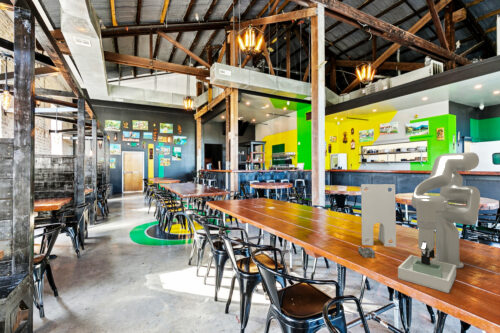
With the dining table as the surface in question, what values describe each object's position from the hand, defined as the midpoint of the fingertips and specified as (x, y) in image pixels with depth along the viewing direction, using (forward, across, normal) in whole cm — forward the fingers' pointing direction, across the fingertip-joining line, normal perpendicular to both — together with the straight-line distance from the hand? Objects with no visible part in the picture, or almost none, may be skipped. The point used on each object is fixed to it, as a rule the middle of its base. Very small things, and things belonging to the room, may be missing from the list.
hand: (428, 260), depth 110 cm
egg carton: (+8, -8, -31) cm, 33 cm away
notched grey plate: (+9, -36, -35) cm, 51 cm away
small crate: (+6, +1, 0) cm, 7 cm away
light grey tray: (+7, +2, 0) cm, 7 cm away
